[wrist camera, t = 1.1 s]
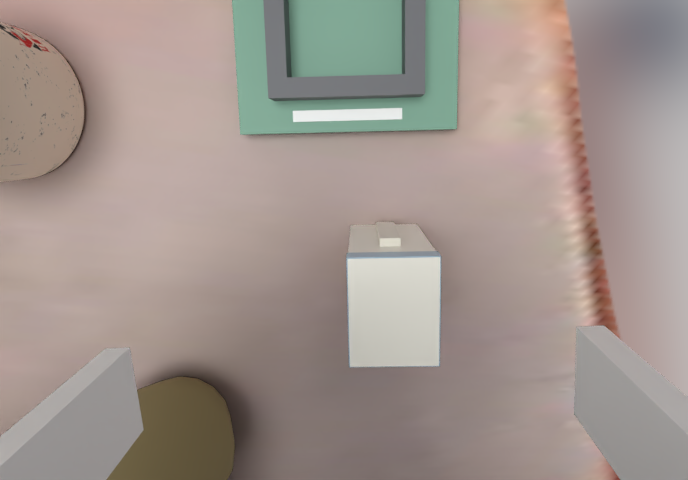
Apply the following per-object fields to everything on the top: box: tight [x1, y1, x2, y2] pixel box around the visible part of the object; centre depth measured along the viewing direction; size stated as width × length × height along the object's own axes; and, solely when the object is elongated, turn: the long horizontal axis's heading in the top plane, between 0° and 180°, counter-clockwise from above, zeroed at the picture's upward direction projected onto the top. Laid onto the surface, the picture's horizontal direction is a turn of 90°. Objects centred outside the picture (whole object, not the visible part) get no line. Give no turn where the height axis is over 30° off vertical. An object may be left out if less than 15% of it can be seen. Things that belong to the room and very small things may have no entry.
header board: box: [232, 0, 459, 135], centre depth 27 cm, size 13×12×4 cm
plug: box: [346, 222, 441, 367], centre depth 27 cm, size 6×4×9 cm
